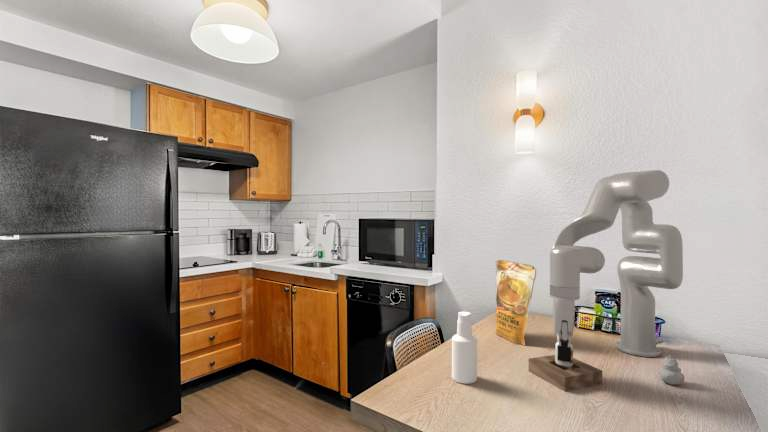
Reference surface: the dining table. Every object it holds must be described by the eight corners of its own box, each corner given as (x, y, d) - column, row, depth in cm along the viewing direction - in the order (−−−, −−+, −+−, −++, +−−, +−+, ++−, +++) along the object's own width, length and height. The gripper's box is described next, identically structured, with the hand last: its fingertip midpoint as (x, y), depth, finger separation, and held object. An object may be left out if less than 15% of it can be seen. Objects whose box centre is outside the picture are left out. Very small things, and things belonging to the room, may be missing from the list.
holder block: (563, 365, 109) (563, 353, 109) (602, 383, 96) (602, 370, 96) (528, 370, 104) (528, 358, 104) (564, 391, 92) (564, 377, 92)
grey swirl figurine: (653, 381, 98) (653, 351, 98) (667, 376, 101) (667, 348, 101) (676, 389, 93) (676, 358, 94) (690, 384, 96) (690, 354, 96)
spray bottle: (477, 375, 101) (478, 311, 101) (475, 386, 95) (476, 317, 95) (453, 371, 103) (453, 309, 103) (449, 382, 97) (450, 315, 97)
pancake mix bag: (502, 329, 143) (502, 259, 143) (537, 345, 125) (538, 265, 125) (488, 331, 141) (488, 259, 141) (522, 347, 123) (522, 265, 123)
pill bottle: (575, 367, 98) (575, 339, 98) (557, 366, 99) (557, 337, 99) (570, 361, 102) (570, 334, 102) (553, 360, 103) (553, 332, 103)
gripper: (550, 285, 110) (549, 346, 110) (549, 296, 95) (548, 366, 94) (578, 288, 107) (577, 350, 106) (581, 299, 91) (581, 371, 91)
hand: (564, 357), depth 100 cm, fingers closed on pill bottle, 4 cm apart
